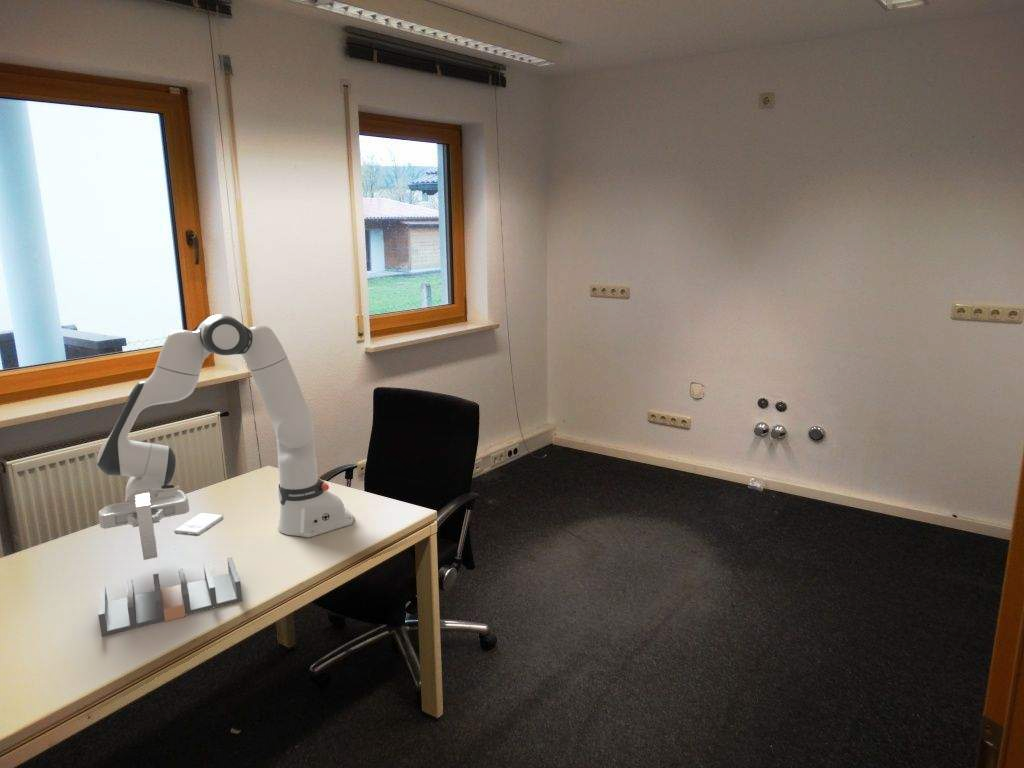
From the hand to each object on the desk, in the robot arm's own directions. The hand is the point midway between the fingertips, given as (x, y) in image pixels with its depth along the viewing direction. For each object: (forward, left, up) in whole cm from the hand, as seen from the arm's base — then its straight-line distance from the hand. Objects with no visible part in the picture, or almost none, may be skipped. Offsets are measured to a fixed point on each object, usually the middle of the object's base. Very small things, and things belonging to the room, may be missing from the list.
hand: (145, 522), depth 168 cm
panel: (0, 0, -8) cm, 8 cm away
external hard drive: (-14, -38, -20) cm, 45 cm away
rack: (-4, +7, -20) cm, 21 cm away
